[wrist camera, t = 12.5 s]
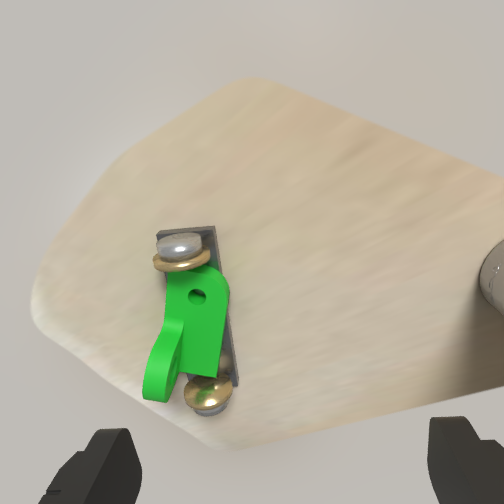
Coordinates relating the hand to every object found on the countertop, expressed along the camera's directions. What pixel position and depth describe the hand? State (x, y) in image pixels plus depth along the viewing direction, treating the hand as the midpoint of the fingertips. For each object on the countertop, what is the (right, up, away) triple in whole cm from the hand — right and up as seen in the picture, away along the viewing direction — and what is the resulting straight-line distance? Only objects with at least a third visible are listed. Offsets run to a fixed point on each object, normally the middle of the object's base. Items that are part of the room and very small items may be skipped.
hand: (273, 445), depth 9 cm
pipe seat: (-6, -1, +29) cm, 30 cm away
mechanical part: (-6, -1, +28) cm, 29 cm away
